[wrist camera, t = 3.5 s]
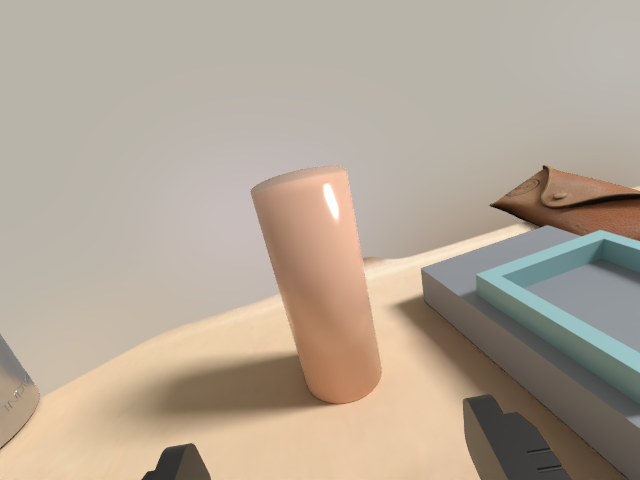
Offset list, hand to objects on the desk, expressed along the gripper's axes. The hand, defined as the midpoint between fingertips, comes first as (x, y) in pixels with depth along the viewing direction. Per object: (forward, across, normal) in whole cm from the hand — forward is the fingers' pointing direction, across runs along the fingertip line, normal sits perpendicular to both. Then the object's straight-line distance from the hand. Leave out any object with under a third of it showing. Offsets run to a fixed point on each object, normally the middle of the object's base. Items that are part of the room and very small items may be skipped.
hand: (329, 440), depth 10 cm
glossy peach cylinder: (+10, 0, +8) cm, 13 cm away
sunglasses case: (+26, -25, +8) cm, 37 cm away
